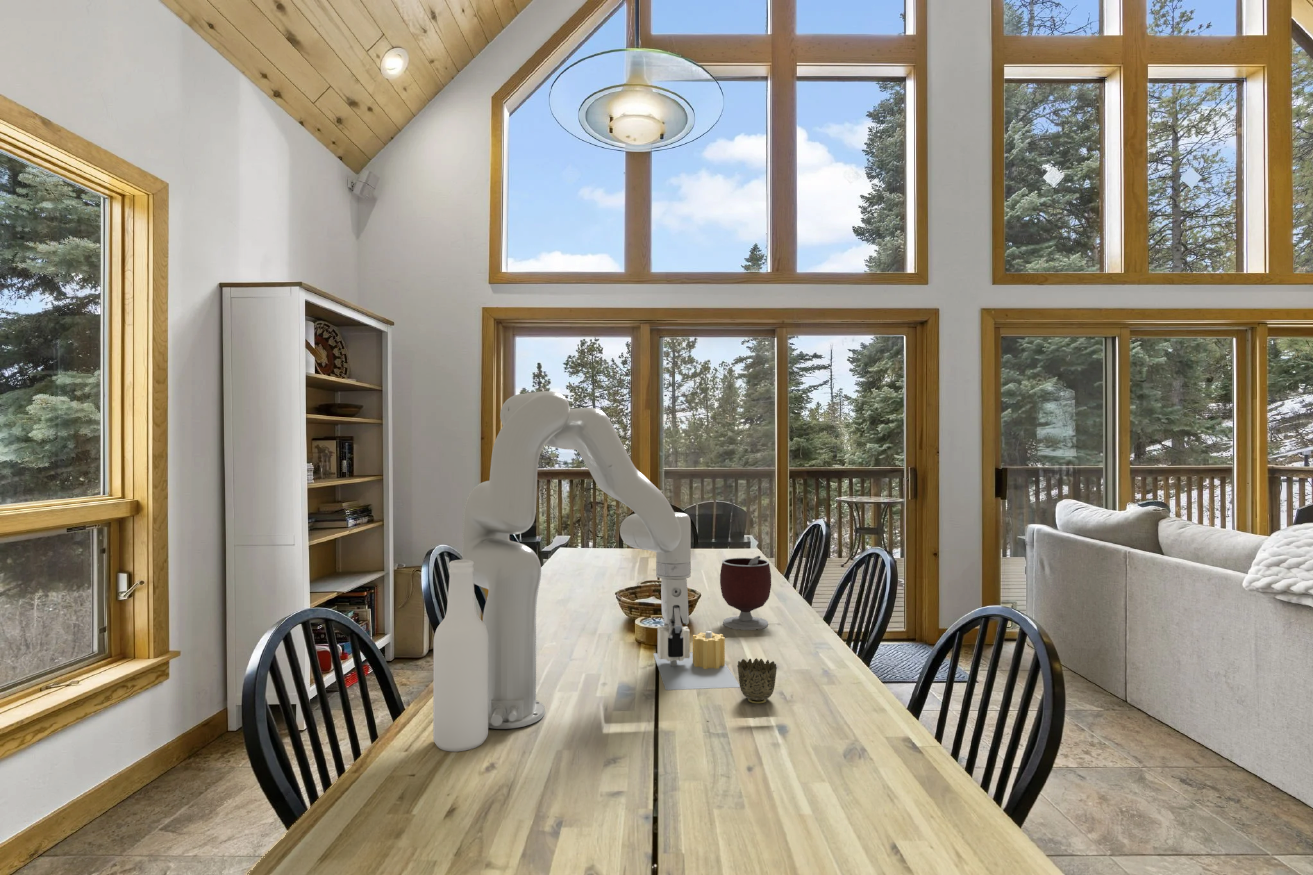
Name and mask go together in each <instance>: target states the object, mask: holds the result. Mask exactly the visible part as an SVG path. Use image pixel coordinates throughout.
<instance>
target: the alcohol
mask: <svg viewBox="0 0 1313 875" xmlns="http://www.w3.org/2000/svg"><path fill="white" fill-rule="evenodd" d="M473 564H474V562H473V561H472V560H462V559H455V560H451V561H450V562H448V566H449V569H448V573H449V580H448V593H447V605H446V612H445V616H444V618H443V620H442V621H441V622H440V623H439V625H438V626H437V628H436V630H435V633H434V637H433V699H432V700H433V703H432V704H433V714H432V715H433V718H432V721H433V735H432V736H433V738H432V740H433V742H434V743H435V745H436V747H437V748H438V749H440V750H442V751H445V752H456V753H457V752H465V751H469V750H473V749H475V748H479V747H481V745H482V744H483V743H484V742H485V741H486V739H487V738H488V735H489V728H488V632H487V628H486V626H485V624H484V623H483V619H481V618H480V617H479V615H478V613H477V609H476V598H475V596H476V594H475V584H474V582H473V571H474V568H473Z"/></svg>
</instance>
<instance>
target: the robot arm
mask: <svg viewBox="0 0 1313 875" xmlns="http://www.w3.org/2000/svg"><path fill="white" fill-rule="evenodd" d="M499 416H500V422H501V425H502V427H501V428H500V430H499V432H498V434H497V435H496V438H495V441H494V444H493V447H492V453H491V459H490V470H489V480H486V481H483V482H480V483H478V484H477V485H476V486H474V488H473V489H472V490H471V491H470V492H469V494H468V497H467V499H466V502H465V504H464V510H463V511H464V512H463V526H462V527H463V531H462V552H461V554H462V556H461V557H462V559H461V560H472V561H473V562H474V564H473V568H474V571H473V582H474V585H476V586H478V587H481V588H483V589H486V590H487V591H488V593H487V598H486V602H485V604H484V608H483V613H482V614H483V616H482V621H483V623H484V624H485V626H486V628H487V632H488V729H495V730H508V729H510V730H511V729H519V728H523V727H526V726H530V725H532V724H535V723H537V722H539V721H540V720H541V719H542V718H543V717H544V716H545V712H546V709H545V708H546V707H545V705H544V704H543V703H542V702H541V701H539V700H537V608H538V607H537V605H538V596H539V590H540V586H541V585H540V584H541V579H542V565H541V561H540V559H539V556H538V555H537V554H536V552H535V551H534V550H533V549H532V548H530V547H529V546H527V545H526V544H524V543H520V542H517V541H513V540H510V535H519V534H520V535H521V534H523V533H526V532H527V531H528V530H529V529H530V528H531V527H532V526H533V524H534V522H535V519H536V515H537V514H536V513H537V496H538V495H537V493H538V488H537V487H538V469H539V461H540V455H541V453H542V451H543V449H544V447H545V446H548V447H551V448H552V447H553V448H555V449H561V450H569V451H570V450H573V451H577V452H578V453H579V456H580V457H581V458H582V460H583V462H584V464H585V466H586V467H587V469H588V471H589V473H590V475H591V477H592V478H593V480H594V482H595V484H596V486H597V487H598V489H600V490H601V491H602V492H603V493H605V494H606V495H607V496H610V497H611V498H612V499H614V500H617V501H618V502H619V503H622V504H624V505H625V506H626V507H628V508H629V509H630V510H631V511H632V512H634V513H632V514H631V515H628V516H627V517H626V518H624V519H623V521H622V522H621V525H620V528H619V534H620V538H621V539H622V541H623V542H624V543H625V544H626V545H627V546H629V547H630V548H634V549H636V550H637V549H638V550H642V551H651V552H655V560H656V561H655V566H656V567H655V575H656V576H655V577H656V578H659V579H660V580H661V583H660V588H661V589H660V591H661V592H660V597H661V600H660V601H661V606H660V607H661V615H662V619H663V620H664V621H663V622H664V623H663V624H664V625H669V638H668V656H669V657H682V656H683V632H682V627H683V624H684V625H685V626H688V624H690V623H689V620H690V618H689V596H688V594H689V593H688V592H689V591H688V581H687V580H688V579H690V578H691V574H692V573H691V568H692V567H691V561H692V560H691V557H692V556H691V555H692V554H691V550H692V549H691V545H692V544H691V543H692V542H691V533H692V532H691V529H692V526H691V525H692V524H691V517H690V516H689V514H688V513H685V512H679V511H678V512H677V511H674V509H673V507H672V505H671V503H670V502H669V500H668V499H667V497H666V496H665V494H663V493H662V491H661V490H660V489H659V488H658V487H656V485H655V484H653V482H652V481H650V480H649V479H648V477H646V476H645V474H643V473H642V472H640V471H639V469H637V467H636V466H635V464H634V463H633V461H632V460H631V458H630V455H629V454H628V452H627V450H626V448H625V446H624V444H623V443H622V441H621V439H620V436H619V434H618V433H617V431H616V430H615V427H614V426H613V424H612V422H611V420H610V418H609V417H608V415H607V414H606V413H605V412H604V411H603V410H601V409H598V408H595V407H582V408H581V407H579V408H571V406H570V404H569V401H568V399H567V398H566V397H565V396H564V395H562V394H561V393H559V392H556V391H550V390H545V391H544V390H543V391H533V392H527V393H519V394H514V395H512V396H510V397H509V398H507V399H506V400H505V401H504V402H503V405H502V406H501V409H500V414H499ZM664 625H663V626H664ZM672 627H674V628H673V629H672Z"/></svg>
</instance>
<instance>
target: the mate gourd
mask: <svg viewBox="0 0 1313 875" xmlns="http://www.w3.org/2000/svg"><path fill="white" fill-rule="evenodd" d="M721 562H722V563H721V567H720V575H719V585H720V591H721V596H722V598H723V599H724V601H725V603H726V604H727V605H728V606H730V607H731V608H734V609H737V610H738V611H739V612H740V613H739V616H737V615H736V616H730V617H726V618H724V619H723V620H722V624H723V626H725V627H727V628H730V629H733V630H739V629H741V630H740V631H757V630H756V629H758V630H762V629H766V628H767V627H769V621H768V620H767V619H765V618H762V617H756V616H752V615H753V614H752V613H751V612H752V611H755V610H757V609H759V608H762V607H763V606H765V604H766V603H767V601H768V600H769V599H770V598H769V597H770V595H771V588H772V572H771V566H770V561H769V560H766V559H761V556H760V555H756V556H755V557H729V558H725V559H723V560H722V561H721Z"/></svg>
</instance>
